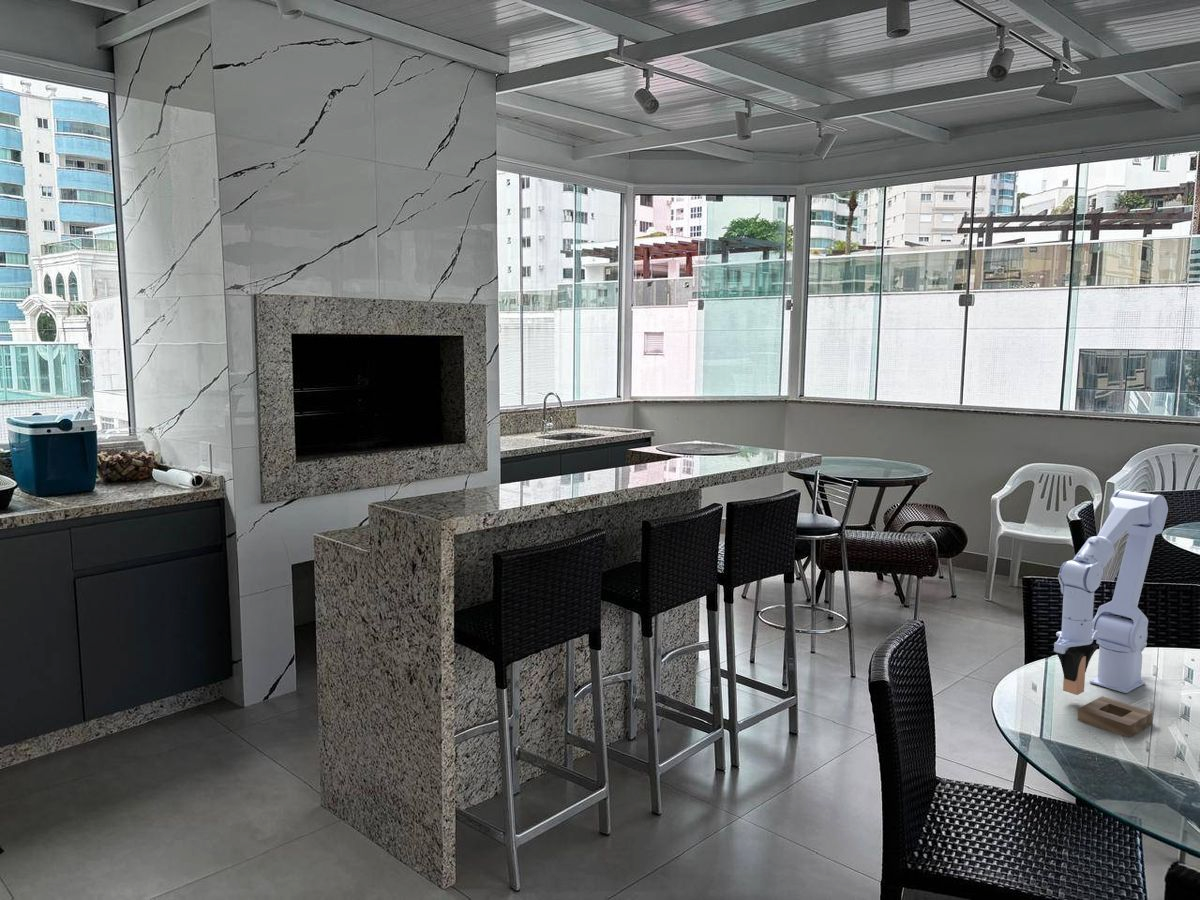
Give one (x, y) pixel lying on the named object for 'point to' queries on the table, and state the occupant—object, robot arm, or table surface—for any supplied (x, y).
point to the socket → (1115, 716)
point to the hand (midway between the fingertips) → (1074, 677)
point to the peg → (1077, 685)
